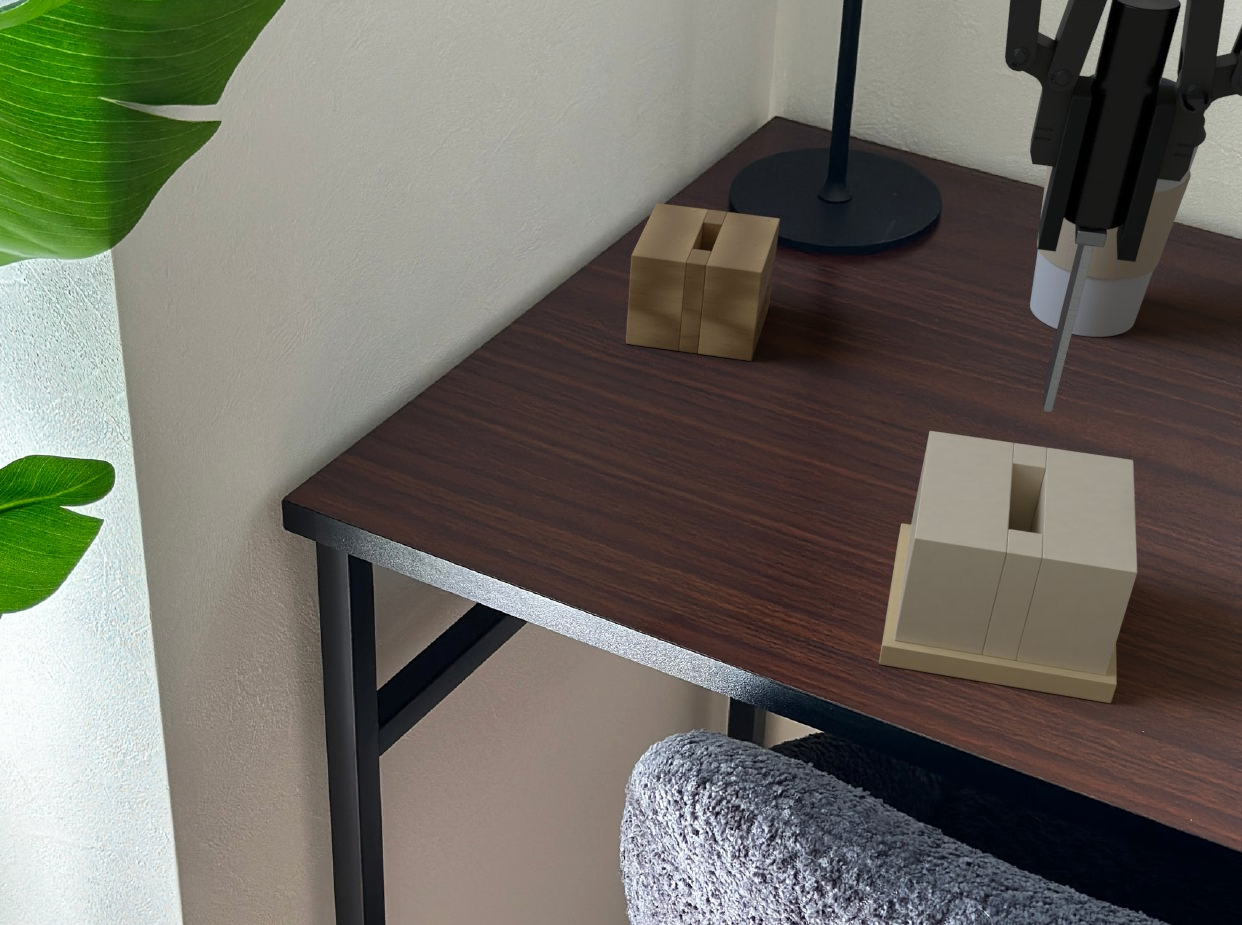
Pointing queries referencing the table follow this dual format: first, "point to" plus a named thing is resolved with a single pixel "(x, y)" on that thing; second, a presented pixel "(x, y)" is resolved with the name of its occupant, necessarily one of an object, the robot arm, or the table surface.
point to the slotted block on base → (1014, 567)
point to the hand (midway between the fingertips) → (1086, 241)
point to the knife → (1112, 144)
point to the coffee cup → (1107, 265)
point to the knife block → (701, 281)
